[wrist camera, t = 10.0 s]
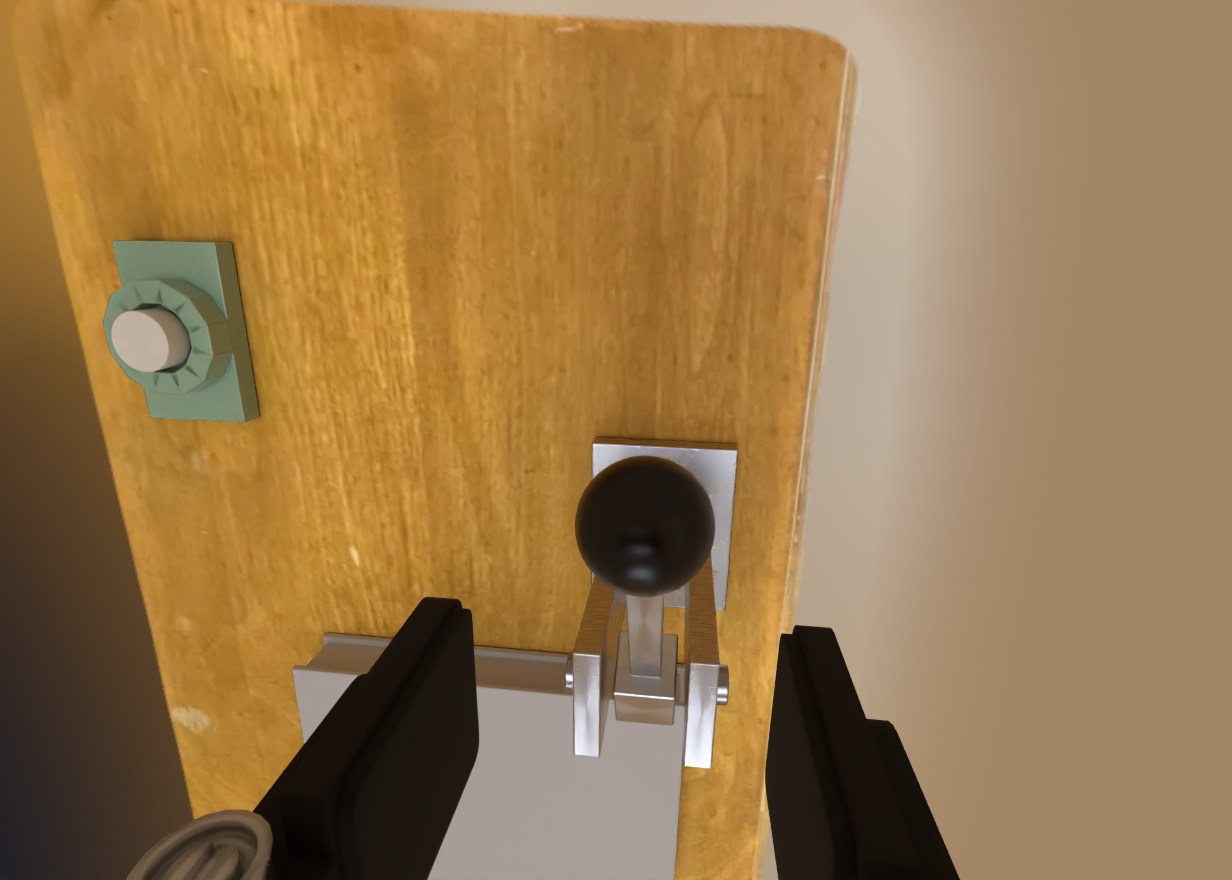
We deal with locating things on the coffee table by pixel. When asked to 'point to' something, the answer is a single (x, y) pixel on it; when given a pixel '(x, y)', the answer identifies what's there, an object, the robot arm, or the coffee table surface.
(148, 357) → the beige push button
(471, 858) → the book
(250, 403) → the green push button base
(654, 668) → the lever with ball knob
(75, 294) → the coffee table surface
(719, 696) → the lever stand
